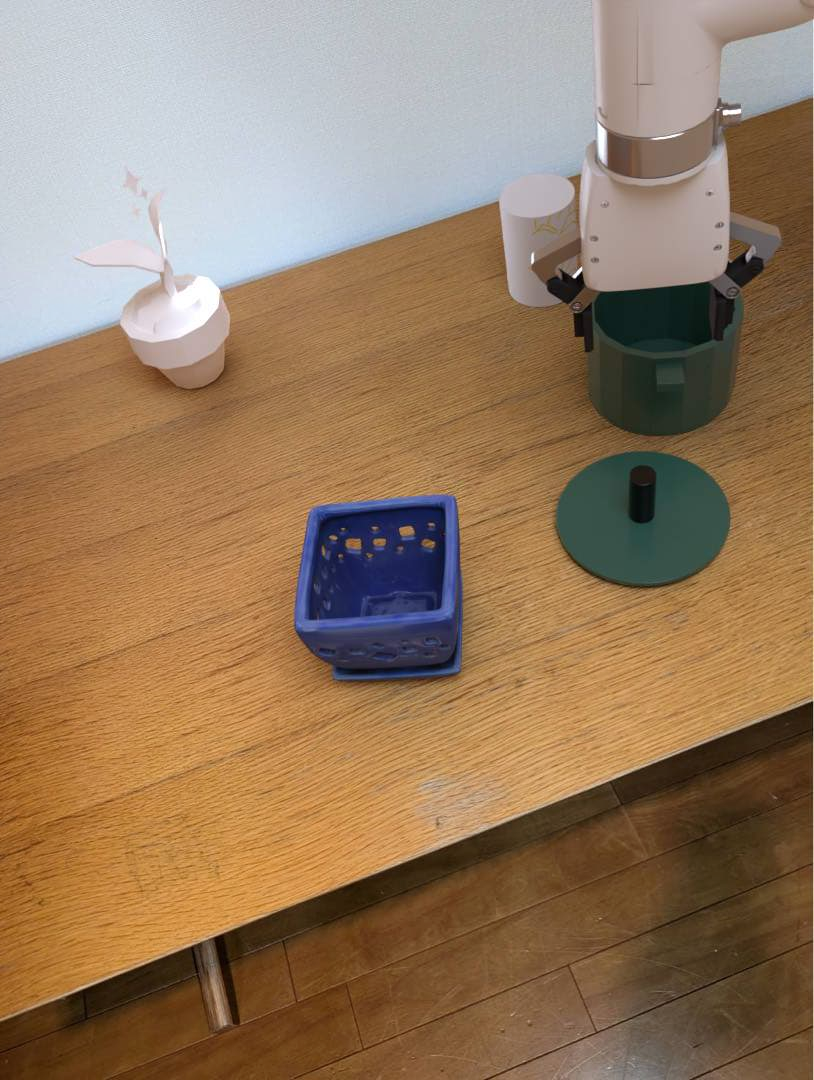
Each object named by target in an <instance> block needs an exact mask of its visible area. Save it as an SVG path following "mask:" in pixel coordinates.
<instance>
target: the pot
mask: <svg viewBox="0 0 814 1080" xmlns="http://www.w3.org/2000/svg"><path fill="white" fill-rule="evenodd" d="M710 294H711V284H710V283H709V282H708V281H706V282H701V283H694V284H686V285H677V286H667V287H657V288H646V289H635V290H623V291H601V292H600V293H599V294H598V295H597V297H596V298H595V299H594V300H593V301H592V317H593V340H594V350H591V352H586V354H587V379H588V380H587V381H588V382H587V383H588V397H589V398H590V401H591V403H592V405H593V407H594V409H595V410H596V411H597V412H598V414H599V415H600V416H601V417H602V418H604V420H606V421H607V422H609V423H610V424H612V425H613V426H615V427H617V428H619V429H622V430H625V431H626V432H629V433H634V434H637V435H643V436H651V437H653V436H654V437H667V436H675V435H680V434H681V435H682V434H685V433H689V432H692V431H695V430H698V429H701V427H703V426H705V425H708V424H709V423H710V422H712V421H713V420H715V419H716V418H717V417H718V416H719V415H720V414H721V413H722V412H723V411H724V410H725V409H726V407H727V406H728V405H729V402H730V401H731V398H732V394H733V390H734V388H735V386H736V377H737V369H738V362H739V353H740V346H741V337H742V329H743V322H744V313H745V307H744V302H743V295H742V293H741V294H740V295H739V296H738V297H736V298H735V302H734V312H733V322H732V324H725V325H724V336H723V341H715V340H713V338H712V332H711V326H710V320H709V307H710Z"/></svg>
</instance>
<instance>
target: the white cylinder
mask: <svg viewBox="0 0 814 1080" xmlns="http://www.w3.org/2000/svg"><path fill="white" fill-rule="evenodd" d="M575 191H576V190H575V186H574V185H573V183H572V182H571V181H570V180H569V179H568V178H566V177H565V176H562V175H559V174H556V173H551V172H538V173H537V172H536V173H530V174H526V175H523V176H520V177H517V178H516V179H514V180H512V181H510V182H509V183H507V184H506V185H505V186H504V187H503V189H502V190H501V191H500V193H499V197H498V202H499V203H498V205H499V212H500V221H501V231H502V240H503V250H504V258H505V259H504V260H505V269H506V277H507V278H506V279H507V287H508V292H509V294H510V297H511V298H512V299H513V300H514V301H515V302H517V303H519V304H521V305H523V306H527V307H533V308H546V307H553V306H555V305H558V304H561V303H564V302H563V301H561V300H560V299H558V298H557V297H555V296H554V295H552V294H550V293H549V292H548V290H547V287H546V285H545V284H544V283H542V281H541V280H540V279H539V278H538V276H537V275H536V274H535V273H534V271H533V270H532V268H531V255H532V253H533V252H535V251H536V250H538V249H540V248H542V247H544V246H545V245H547V244H549V243H551V242H553V241H555V240H556V239H558V238H560V237H562V236H564V235H565V234H567V233H569V232H571V231H573V230H574V229H576V228H577V217H576V216H577V215H576V214H577V213H576V192H575ZM578 262H579V261H578V255H576V256H574V257H572V258H570V259H568V260H567V261H565V262H563V263H561V264H559V265H557V268H560V269H561V270H563V271H564V272H566V273H567V274H569V275H570V276H572V277H573V275H574V274H575V273H576V272H577V271H578V270H579V265H578V264H579V263H578Z"/></svg>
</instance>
